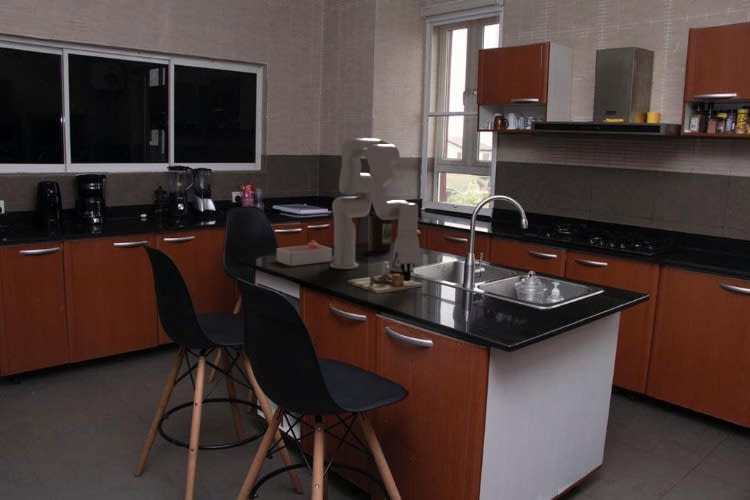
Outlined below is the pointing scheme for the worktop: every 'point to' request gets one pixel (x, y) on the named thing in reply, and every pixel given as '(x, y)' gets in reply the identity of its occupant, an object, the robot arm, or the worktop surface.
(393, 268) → the stacking toy
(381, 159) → the robot arm
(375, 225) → the olive oil
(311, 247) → the pottery
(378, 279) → the ring with handle
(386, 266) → the grey cylinder
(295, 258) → the dish tray
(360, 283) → the board
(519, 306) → the worktop surface
